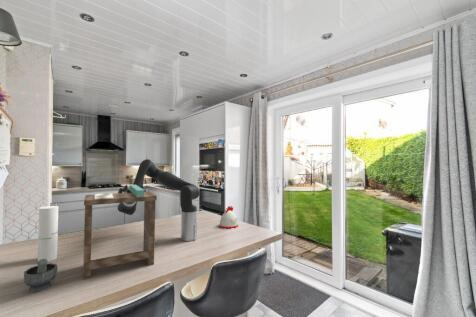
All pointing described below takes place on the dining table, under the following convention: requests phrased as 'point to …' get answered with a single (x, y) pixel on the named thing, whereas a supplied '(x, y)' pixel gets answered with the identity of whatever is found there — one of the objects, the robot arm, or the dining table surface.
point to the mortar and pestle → (40, 275)
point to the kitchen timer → (228, 219)
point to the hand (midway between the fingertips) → (134, 186)
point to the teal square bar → (137, 191)
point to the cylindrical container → (48, 233)
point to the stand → (108, 261)
